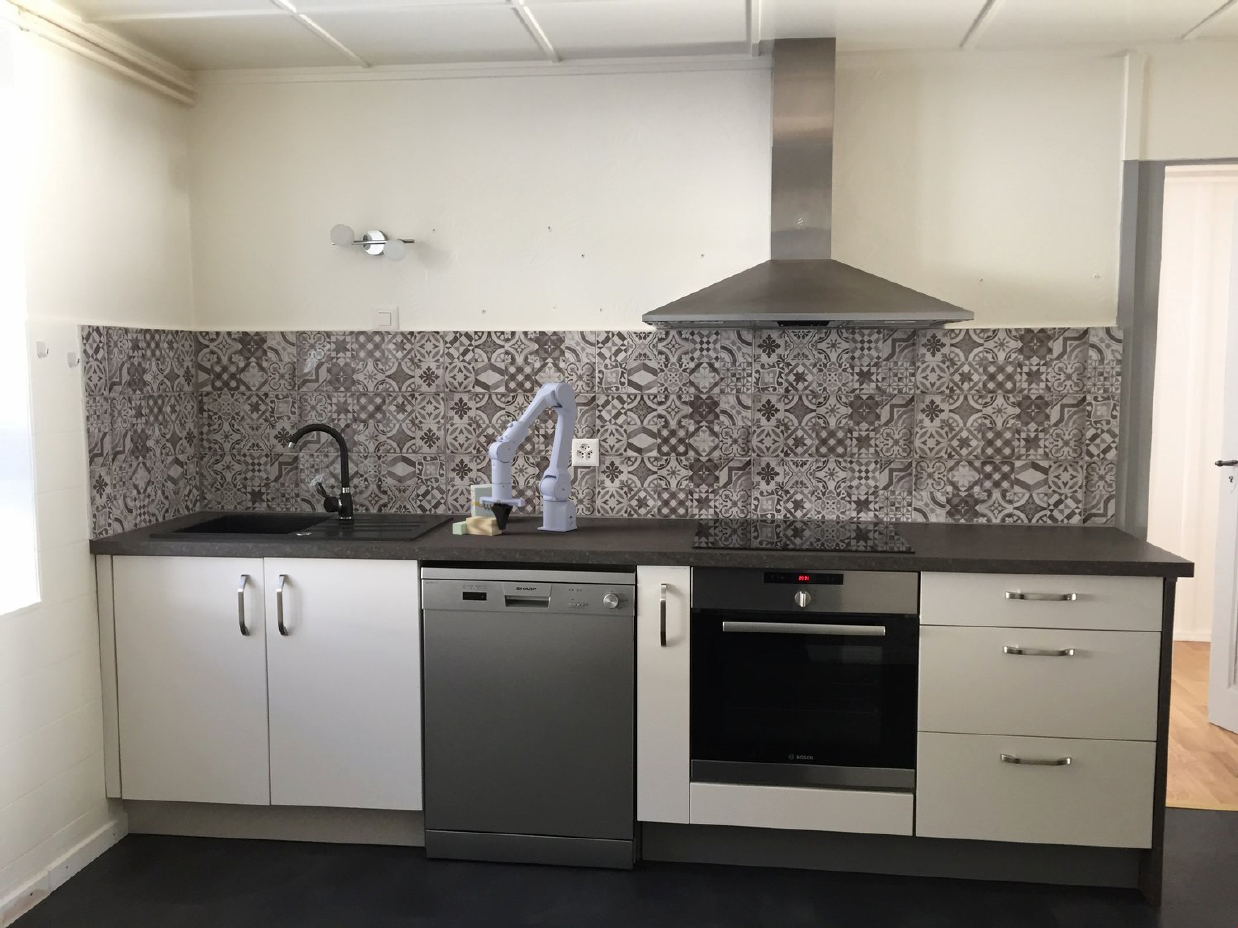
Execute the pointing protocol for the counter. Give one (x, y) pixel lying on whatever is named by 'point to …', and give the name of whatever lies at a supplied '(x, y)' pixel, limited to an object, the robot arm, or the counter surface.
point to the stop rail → (459, 528)
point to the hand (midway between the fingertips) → (502, 529)
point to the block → (482, 526)
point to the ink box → (476, 493)
